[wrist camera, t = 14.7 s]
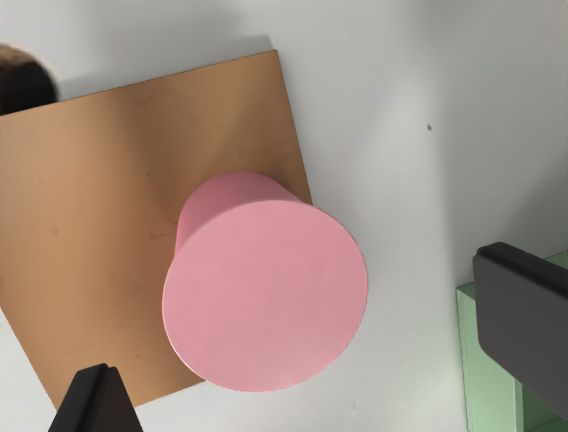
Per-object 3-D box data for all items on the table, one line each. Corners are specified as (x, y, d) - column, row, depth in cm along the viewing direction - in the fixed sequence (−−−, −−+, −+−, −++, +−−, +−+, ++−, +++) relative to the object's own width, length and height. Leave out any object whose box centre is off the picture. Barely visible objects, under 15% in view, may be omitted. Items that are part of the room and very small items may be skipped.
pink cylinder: (223, 139, 19) (246, 155, 11) (327, 213, 21) (405, 269, 13) (146, 251, 19) (117, 340, 12) (255, 313, 21) (291, 420, 14)
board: (274, 51, 19) (276, 49, 18) (338, 325, 24) (342, 330, 23) (-83, 137, 16) (-93, 138, 16) (70, 423, 21) (67, 432, 20)
